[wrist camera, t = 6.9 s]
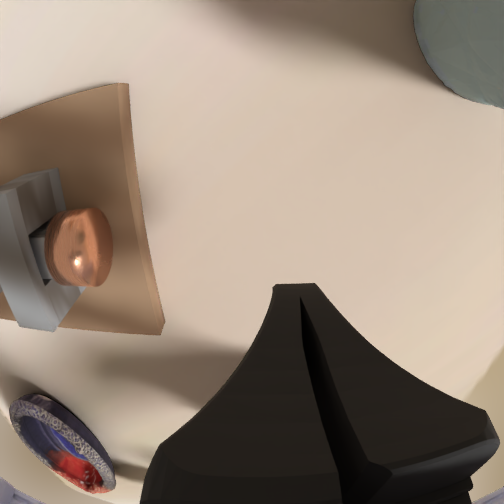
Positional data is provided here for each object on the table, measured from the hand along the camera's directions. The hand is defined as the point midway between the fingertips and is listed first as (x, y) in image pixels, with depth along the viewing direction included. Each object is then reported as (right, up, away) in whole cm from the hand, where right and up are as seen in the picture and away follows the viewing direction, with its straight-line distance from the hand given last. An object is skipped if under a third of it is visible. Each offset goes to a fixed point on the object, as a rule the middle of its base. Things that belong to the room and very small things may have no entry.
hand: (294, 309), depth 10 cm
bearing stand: (-17, +4, +8) cm, 19 cm away
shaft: (-17, +3, +7) cm, 19 cm away
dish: (-28, -27, +25) cm, 46 cm away
